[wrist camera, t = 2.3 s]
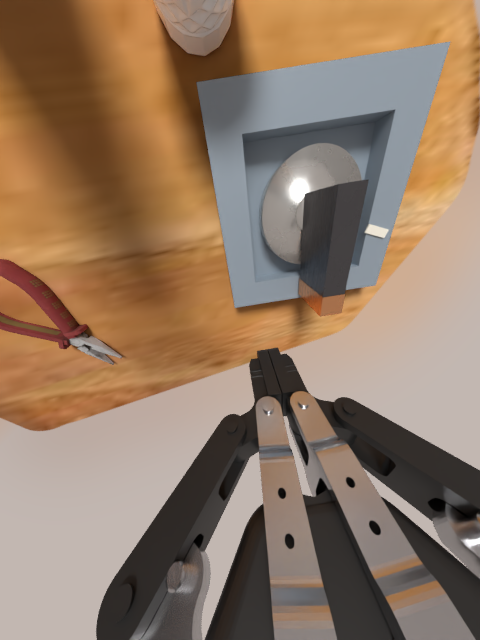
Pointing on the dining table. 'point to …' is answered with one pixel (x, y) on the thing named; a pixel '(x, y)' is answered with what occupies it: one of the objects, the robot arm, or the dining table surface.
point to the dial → (315, 220)
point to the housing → (307, 129)
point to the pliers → (50, 316)
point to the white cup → (196, 22)
